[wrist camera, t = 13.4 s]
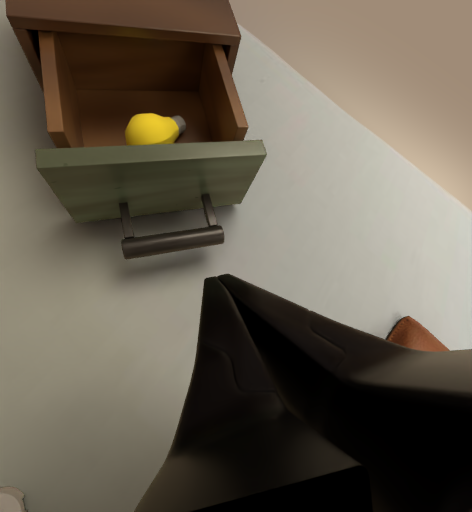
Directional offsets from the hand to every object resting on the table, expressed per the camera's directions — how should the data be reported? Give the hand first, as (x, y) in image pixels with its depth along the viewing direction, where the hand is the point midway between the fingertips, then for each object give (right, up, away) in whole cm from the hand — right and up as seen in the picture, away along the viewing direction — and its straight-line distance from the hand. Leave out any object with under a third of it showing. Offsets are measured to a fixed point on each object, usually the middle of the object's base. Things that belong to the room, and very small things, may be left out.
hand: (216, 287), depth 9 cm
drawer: (-6, +8, +14) cm, 17 cm away
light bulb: (-6, +10, +14) cm, 18 cm away
